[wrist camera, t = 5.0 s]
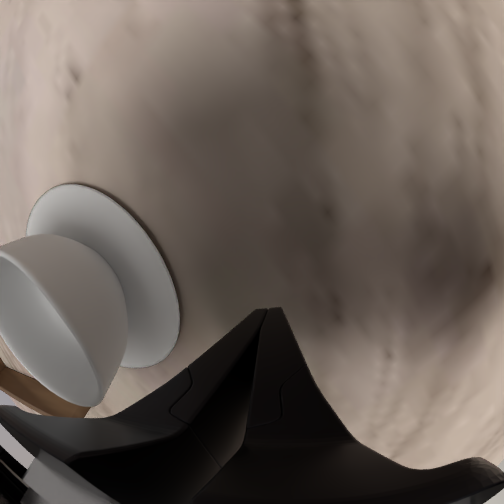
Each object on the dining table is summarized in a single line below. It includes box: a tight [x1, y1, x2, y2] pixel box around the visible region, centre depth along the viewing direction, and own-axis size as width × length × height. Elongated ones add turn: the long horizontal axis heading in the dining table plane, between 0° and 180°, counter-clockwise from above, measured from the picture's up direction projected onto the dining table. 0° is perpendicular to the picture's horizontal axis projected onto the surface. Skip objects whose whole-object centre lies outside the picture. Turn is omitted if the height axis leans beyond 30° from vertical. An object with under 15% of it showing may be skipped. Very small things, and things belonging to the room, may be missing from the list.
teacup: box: [0, 184, 180, 407], centre depth 10 cm, size 10×10×5 cm
